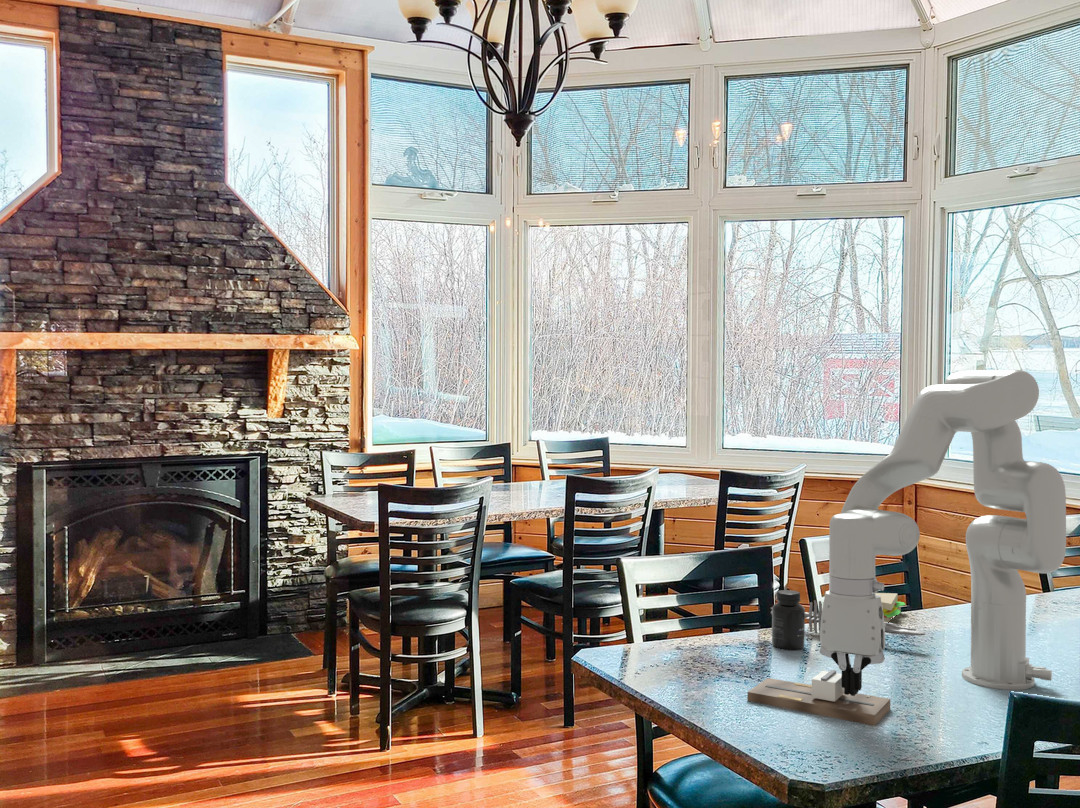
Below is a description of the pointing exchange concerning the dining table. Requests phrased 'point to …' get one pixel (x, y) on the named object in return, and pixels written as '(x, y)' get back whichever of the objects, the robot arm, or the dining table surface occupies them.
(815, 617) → the spaceship
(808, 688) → the fader track
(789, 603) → the supplement bottle
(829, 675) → the fader knob
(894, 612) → the sandwich
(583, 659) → the dining table surface
